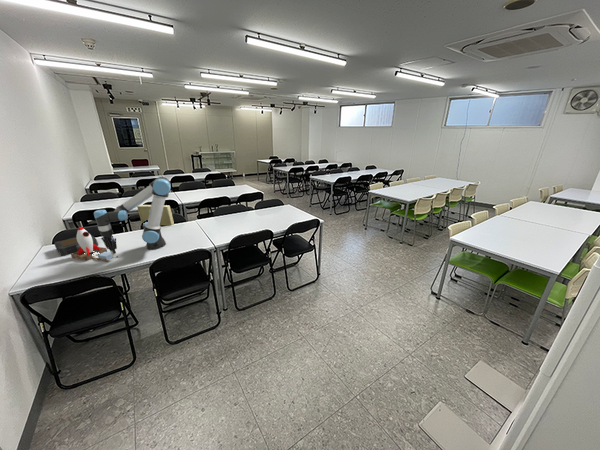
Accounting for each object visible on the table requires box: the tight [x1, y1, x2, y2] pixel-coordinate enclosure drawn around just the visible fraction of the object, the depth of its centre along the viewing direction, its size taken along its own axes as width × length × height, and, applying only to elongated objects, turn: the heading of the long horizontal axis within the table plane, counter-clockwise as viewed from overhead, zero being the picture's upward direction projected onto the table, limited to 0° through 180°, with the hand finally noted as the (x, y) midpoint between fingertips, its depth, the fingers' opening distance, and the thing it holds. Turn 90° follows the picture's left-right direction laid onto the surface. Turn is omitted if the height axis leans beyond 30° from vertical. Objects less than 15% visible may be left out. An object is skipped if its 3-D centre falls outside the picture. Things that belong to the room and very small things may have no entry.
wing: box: [97, 251, 113, 261], centre depth 191 cm, size 9×6×4 cm, turn 73°
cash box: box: [54, 233, 99, 257], centre depth 207 cm, size 25×20×8 cm
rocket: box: [76, 226, 100, 255], centre depth 192 cm, size 11×11×25 cm
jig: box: [70, 246, 119, 263], centre depth 194 cm, size 34×16×4 cm, turn 73°
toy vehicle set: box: [137, 204, 175, 226], centre depth 257 cm, size 35×5×22 cm, turn 85°
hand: (114, 256), depth 188 cm, fingers closed
